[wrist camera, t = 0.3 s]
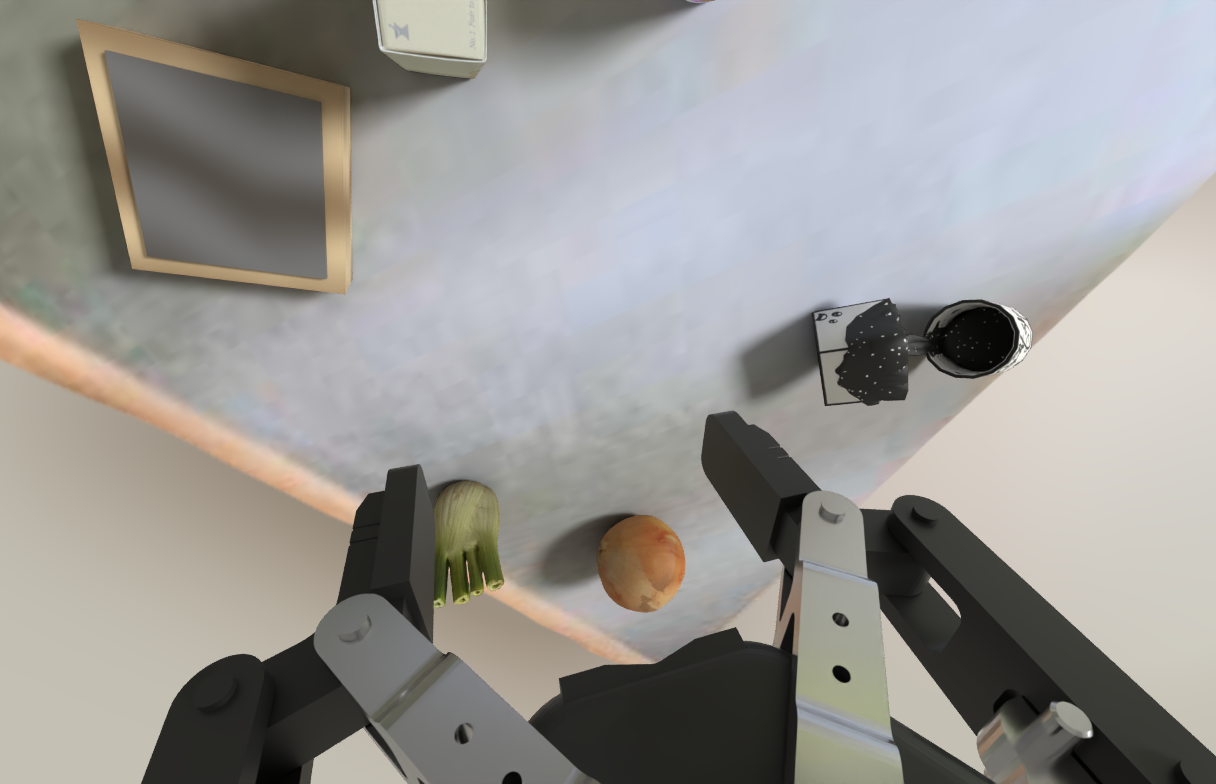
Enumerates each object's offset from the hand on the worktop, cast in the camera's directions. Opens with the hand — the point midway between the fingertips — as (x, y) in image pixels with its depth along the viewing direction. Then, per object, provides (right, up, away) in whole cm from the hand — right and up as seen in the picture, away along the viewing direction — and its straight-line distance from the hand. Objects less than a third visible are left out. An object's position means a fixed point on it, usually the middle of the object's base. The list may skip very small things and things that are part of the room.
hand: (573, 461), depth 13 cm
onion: (+3, -14, +43) cm, 45 cm away
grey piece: (+31, +9, +39) cm, 50 cm away
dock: (-21, +15, +16) cm, 31 cm away
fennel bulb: (-13, -8, +34) cm, 37 cm away
